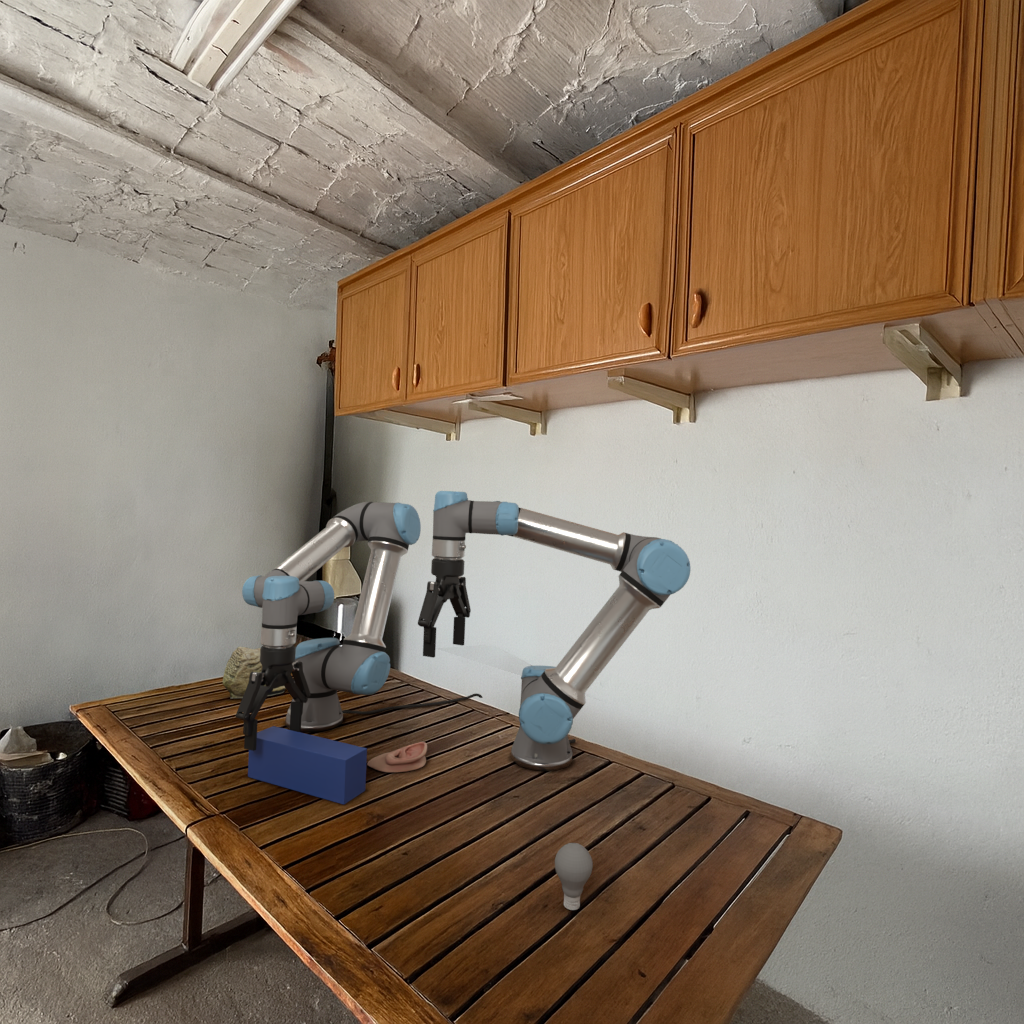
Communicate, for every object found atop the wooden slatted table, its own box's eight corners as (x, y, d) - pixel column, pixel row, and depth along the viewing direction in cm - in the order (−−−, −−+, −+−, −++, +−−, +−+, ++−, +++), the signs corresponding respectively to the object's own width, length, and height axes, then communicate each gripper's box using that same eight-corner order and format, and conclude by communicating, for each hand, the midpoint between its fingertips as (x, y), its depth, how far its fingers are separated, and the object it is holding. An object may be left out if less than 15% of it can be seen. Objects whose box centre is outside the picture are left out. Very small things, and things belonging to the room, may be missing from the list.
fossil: (218, 695, 195) (220, 647, 195) (278, 685, 208) (279, 640, 207) (228, 703, 189) (230, 653, 188) (289, 692, 201) (290, 645, 201)
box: (247, 777, 141) (249, 735, 141) (271, 765, 148) (273, 725, 148) (343, 804, 131) (345, 760, 131) (365, 790, 137) (367, 748, 137)
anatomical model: (361, 752, 147) (381, 734, 159) (361, 769, 148) (381, 750, 159) (415, 759, 145) (432, 741, 156) (415, 776, 145) (431, 757, 156)
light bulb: (550, 895, 103) (552, 835, 103) (586, 895, 104) (589, 835, 104) (555, 920, 97) (558, 856, 97) (594, 919, 98) (597, 855, 98)
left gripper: (247, 658, 130) (242, 761, 130) (328, 638, 152) (324, 726, 152) (220, 653, 133) (215, 754, 133) (304, 634, 155) (299, 720, 155)
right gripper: (434, 563, 132) (430, 664, 133) (486, 556, 155) (483, 642, 156) (404, 560, 135) (400, 659, 136) (459, 553, 158) (456, 638, 159)
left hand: (273, 739), depth 143 cm, fingers open, 13 cm apart
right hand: (444, 650), depth 146 cm, fingers open, 13 cm apart
